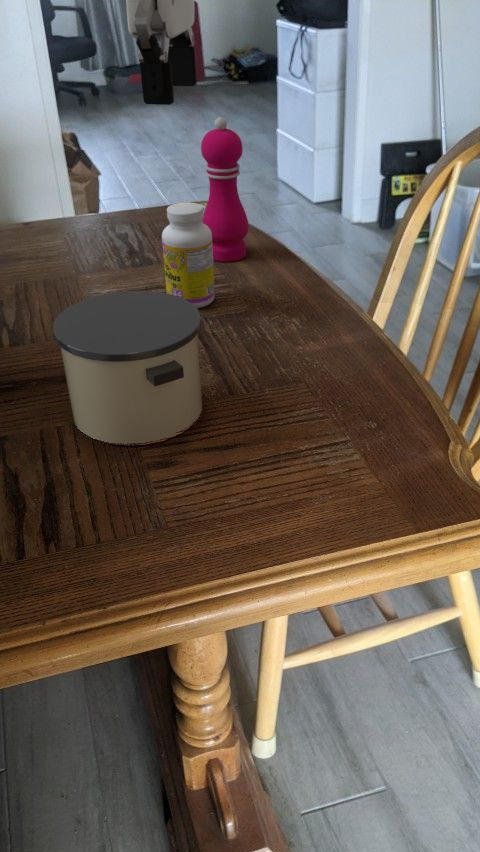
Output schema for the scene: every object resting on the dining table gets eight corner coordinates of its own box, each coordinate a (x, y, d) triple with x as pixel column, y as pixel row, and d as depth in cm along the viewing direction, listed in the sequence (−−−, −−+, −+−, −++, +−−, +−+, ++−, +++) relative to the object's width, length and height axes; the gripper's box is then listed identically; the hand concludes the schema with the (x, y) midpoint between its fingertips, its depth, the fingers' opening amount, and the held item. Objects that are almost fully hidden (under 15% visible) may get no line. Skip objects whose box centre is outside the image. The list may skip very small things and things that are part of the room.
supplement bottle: (160, 296, 110) (152, 203, 102) (204, 287, 112) (199, 196, 104) (177, 314, 105) (169, 219, 97) (222, 305, 107) (218, 211, 100)
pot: (109, 471, 77) (93, 374, 70) (45, 397, 88) (27, 308, 81) (236, 424, 83) (233, 332, 77) (162, 361, 94) (154, 276, 88)
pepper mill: (194, 259, 121) (185, 120, 109) (216, 243, 126) (210, 109, 114) (235, 266, 118) (231, 125, 106) (256, 250, 124) (254, 114, 112)
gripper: (145, -98, 84) (160, 78, 94) (88, -95, 70) (113, 111, 81) (213, -99, 83) (221, 80, 93) (169, -96, 69) (184, 113, 79)
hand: (171, 94), depth 87 cm, fingers open, 9 cm apart
